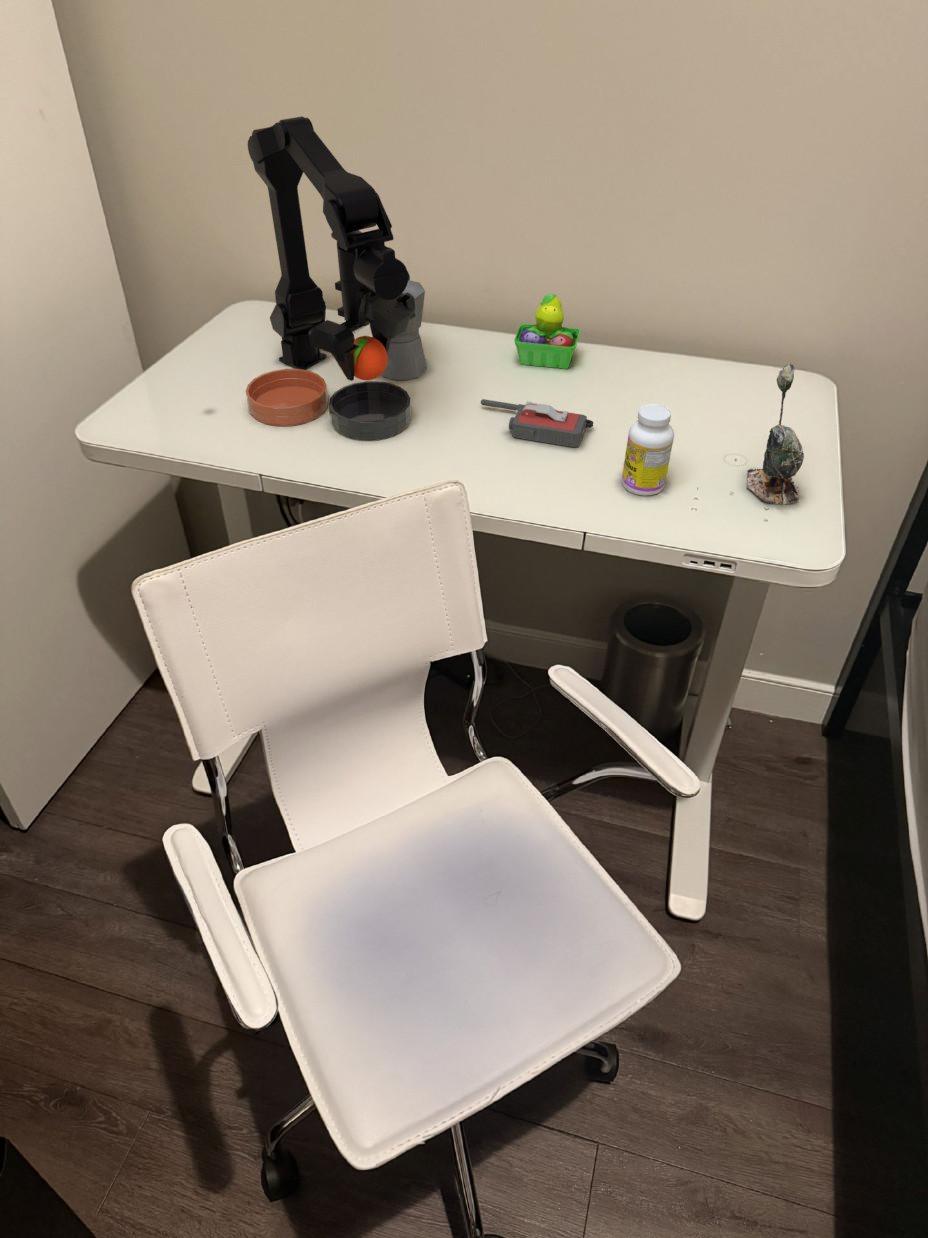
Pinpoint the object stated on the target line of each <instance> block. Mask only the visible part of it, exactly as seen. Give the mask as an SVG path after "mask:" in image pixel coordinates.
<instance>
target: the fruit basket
mask: <svg viewBox="0 0 928 1238" xmlns="http://www.w3.org/2000/svg"><path fill="white" fill-rule="evenodd" d="M534 318H535V324H530V323H525V324H524V323H523V324H521V325H519V327H518V329H517V332H516V334H515V337H514V345H515V347H516V351H517V355H518V359H519V363H520V365H522V366H523V365H525V366H535V367H546V368H555V369H556V368H558V369H564V370H568V369H569V366H570V364H571V360H572V358H573V354H574V351H575V350H576V348H577V345H578V342H579V341H578V340H579V337H580V334H581V330H580V329H579V328H574V327H567V326H565V327H564V326H563V323H564V319H565V315H564V311H563V303H562V301H561V299H559V298H558V297H557V294H550V293H548V294H545V295H544V296H543V298H542V301H541V302H540V303H539V307H538V308H537V309H536V310H535V314H534Z"/></svg>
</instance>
